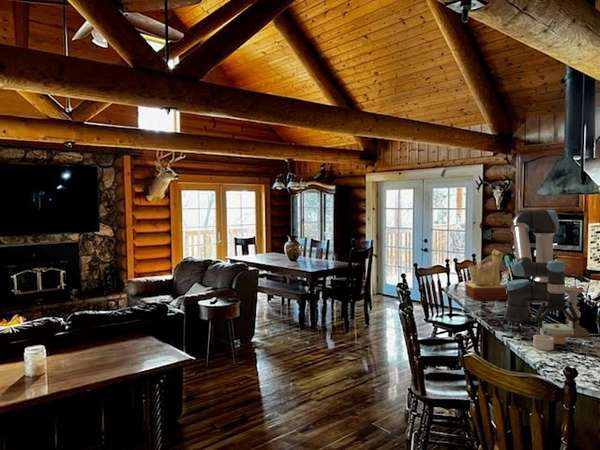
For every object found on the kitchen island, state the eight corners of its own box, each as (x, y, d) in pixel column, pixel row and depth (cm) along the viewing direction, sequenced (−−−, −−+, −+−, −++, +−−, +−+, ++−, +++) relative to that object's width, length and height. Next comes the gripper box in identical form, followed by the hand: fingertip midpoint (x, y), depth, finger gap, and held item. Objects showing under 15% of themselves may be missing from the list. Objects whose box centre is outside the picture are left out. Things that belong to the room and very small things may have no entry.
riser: (547, 339, 225) (547, 329, 225) (559, 339, 224) (559, 329, 224) (552, 343, 219) (552, 332, 219) (565, 343, 218) (565, 332, 218)
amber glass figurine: (498, 294, 335) (498, 248, 333) (509, 299, 317) (509, 250, 315) (465, 295, 335) (464, 249, 334) (474, 300, 317) (473, 251, 316)
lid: (539, 327, 227) (539, 322, 227) (562, 327, 226) (562, 322, 226) (549, 334, 216) (549, 328, 216) (573, 334, 215) (573, 328, 215)
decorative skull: (483, 289, 352) (482, 264, 352) (475, 283, 378) (475, 260, 377) (506, 290, 350) (506, 264, 349) (497, 283, 376) (497, 260, 375)
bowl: (530, 344, 218) (530, 334, 218) (548, 344, 217) (548, 334, 217) (538, 350, 210) (538, 339, 210) (556, 350, 209) (556, 339, 209)
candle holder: (555, 331, 238) (555, 287, 237) (575, 330, 239) (575, 286, 238) (570, 337, 227) (569, 291, 226) (590, 336, 228) (590, 290, 227)
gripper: (533, 293, 218) (533, 336, 219) (586, 293, 215) (587, 336, 216) (526, 290, 225) (527, 332, 226) (578, 290, 223) (578, 332, 224)
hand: (556, 334), depth 221 cm, fingers open, 13 cm apart
